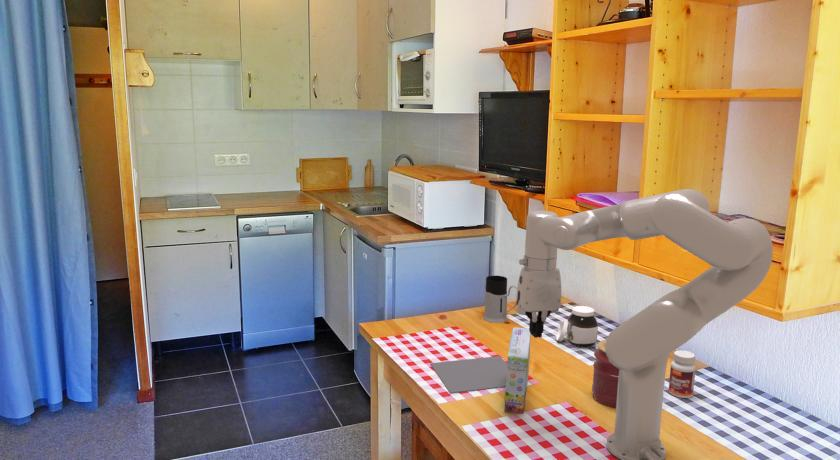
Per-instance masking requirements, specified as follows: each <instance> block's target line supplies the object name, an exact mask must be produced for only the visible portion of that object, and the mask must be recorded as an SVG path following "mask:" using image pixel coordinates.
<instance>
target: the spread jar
mask: <svg viewBox="0 0 840 460" xmlns="http://www.w3.org/2000/svg"><path fill="white" fill-rule="evenodd" d="M571 312H572V313H571V314H570V315H569V316H568V317H567V321H565V320H563V321H562V322H561V323H560V325H559V327H558V331H557V333H556V336H555V337H556V338H555V340H556V341H558V342H560V343H561V342H563V340H564V338H565V337H566V336H567V340H568V342H569V344H570V345H572V346H573V347H578V348H590V347H592V346H594V345H595V344H596V343H597V341H598V333H599V332H598V331H599V329H598V328H599V327H598V326H599V325H598V321H597V319H596V317H595V309H594V308H592V307H590V306H586V305H585V306H584V305H577V306H573V307H572V310H571Z"/></svg>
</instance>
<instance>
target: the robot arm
mask: <svg viewBox="0 0 840 460" xmlns="http://www.w3.org/2000/svg"><path fill="white" fill-rule="evenodd" d="M710 209H711V208H710V203H709V201H708V199H707V197H706V196H705V195H704V194H703V193H702V192H701V191H699V190H696V189H691V188H686V189H683V188H682V189H678V190H672V191H668V192H665V193H664V192H663V193H659V194H654V195H653V194H652V195H649V196H645V197H639V198H634V199H629V200H625V201H622V202H620V203H618V204H613V205H608V206H604V207H599V208H594V209H590V210H585V211H584V210H583V211H579V212H577V213H575V212H574V213H572V214H569V215H565V216H560V217H559V215H558V214H557V213H555V212H553V211H550V210H533V211H532V210H531V211H530V212H529V213H528V214H527V216H526V226H525V243H524V244H525V245H524V255H523V258H521V259H519V260H518V263H519V265H521V266H523V267H521V269H520V273H519V276H518V282H517V286H516V287H517V289H516V298H515V301H516V302H515V304H516V303H517V305H516V310H515V312H516V313H517V314H518V315H522V316H526V317H527V319H529V325H528V327H529V328H528V329H529V331H530V333H531V336H532V337H533V338H535V339H538V338H542V337H543V333H544V328H545V327H544V325H545V322H546V321H547V318H548V317H549V316H550V315H551V314H554V313H557V312H559V310H560V308H561V306H562V279H561V272H560V269H559V268H558V267H557V261H558V259H557V257H558V250H559V249H560V250H564V251H571V250H574V249H577V248H579V247H582V246H584V245H587V244H590V243H594V242H599V241H605V240H611V239H618V238H627V239H629V240H631V241H638V240H642V239H643V240H644V239H649V238H654V237H660V236H664V237H665V238H666V239H667V240H670V241H671V242H672V243H673V244H676V245H677V246H679V247H680V248H682V249H683V250H686V251H687V252H688V253H690V254H692V255H694V256H695V257H697V258H699V260H701V261H703V262H705V263H707V264H708V265H710V267H709V268H708V269H706V270H705V271H703V272H702V273H700V274H699V275H698V276H696V277H695V278H693V279H692V280H691V281H689V282H687V283H686V284H684V285H683V286H680V287H679V288H677V289H674V290H672V291H670V292H668V293H666V294H665V295H663V296H662V297H660V298H658V299H657V300H655V301H653V303H651V304H649V305H648V306H647V307H645V308H644V309H642V310H641V311H639V312H638V313H636V314H634V315H633V316H631V317H630V318H628V319H627V320H625V321H624V322H623V323H621V324H620V325H619V326H616V327H614V329H612V331H610V332H609V334H608V335H607V337H606V339H607V340H606V344H605V351H606V355H607V357H608V359H609V361H610V362H611V363H612V364H613V365H614V366H615V367H617V368H619V378H618V390H617V404H616V407H615V418H614V419H615V420H614V421H615V422H614V432H613V433H612V434H610V435H609V436H608V437H607V438H606V449H607V450H608V451H609V452H610V454H612V455H613V456H614V457H616V458H617V459H619V460H665V459H666V458H667V450H666V447H665V445H664V444H663V443H662V440H661V439H660V438H661V437H660V435H661V426H662V425H661V424H662V413H663V412H662V411H663V401H664V391H665V390H664V389H665V382H666V381H665V380H666V372H667V371H666V370H667V367H668V366H667V365H668V362H669V361H668V359H669V356H670V353H672V352H673V351H674V352H675V350H677V349H679V348H680V347H681V346H683V345H684V344H686V343H688V342H689V341H690V340H691V339H693V338H694V337H695V336H696V335H697V334H698V333H699V332H700V331H702V329H703V328H704V327H705V326H706V325H708V324H709V323H710V322H712V321H713V320H715V319H717V318H718V317H719V316H720V315H722V314H723V315H724V313H726V312H727V311H729V310H730V309H731V308H733V307H734V306H737V304H739V303H741V302H742V301H744V300H745V299H746V298H748V297H749V296H750V295H751V294H752V293H753V292H755V291H756V290H757V289H758V288H759V286H761V284H762V283H763V282H764V280H765V278H766V277H767V275H768V273H769V270H770V269H771V265H772V263H773V262H772V261H773V257H774V255H773V254H774V249H773V241H772V238H771V235H770V233H769V231H768V229H767V228H766V227H765V225H763V224H762V223H761V222H760V221H757V220H755V219H752V218H748V217H741V218H736V219H733V220H731V221H726V220H724V219H722V218H720V217H718V216H717V215H715V214H713V213H711V210H710Z"/></svg>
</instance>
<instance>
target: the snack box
mask: <svg viewBox="0 0 840 460" xmlns="http://www.w3.org/2000/svg"><path fill="white" fill-rule="evenodd" d="M531 336H532V335H531V333H530V331H529V328H526V327H512V330H511V336H510V342H509V347H508V353H507V362H506V363H507V375H506V387H505V392H504V405H503V408H504V410H503V411H504V412H511V413H516V414H524V413H525V407H526V406H525V405H526V397H527V393H528V391H527V390H528V383H529V382H528V381H529V372H530V371H529V370H530V369H529V368H530V358H531V357H530V356H531V355H530V354H531Z"/></svg>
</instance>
